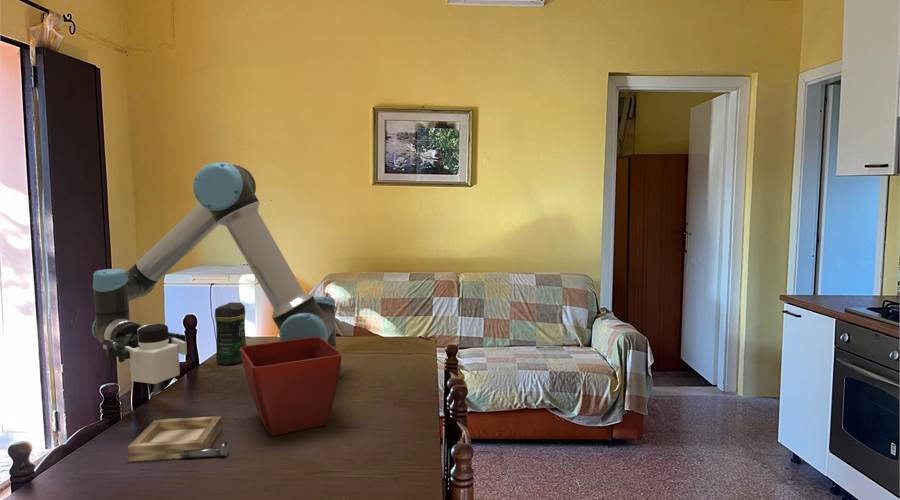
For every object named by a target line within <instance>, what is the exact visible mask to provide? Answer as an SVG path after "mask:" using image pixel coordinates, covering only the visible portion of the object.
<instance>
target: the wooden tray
mask: <svg viewBox="0 0 900 500" xmlns="http://www.w3.org/2000/svg"><path fill="white" fill-rule="evenodd" d="M222 429H223V423H222V416H221V415H218V416H217V415H215V416H201V417H199V416H198V417H197V416H196V417H183V418H182V417H179V418H177V417H176V418H163V419H162V418H161V419H160V418H159V419H154V420H153V421H152V422H151V423H149V425H148V426H147V427H146V428H145V429H144V430H143V431H142V432H141V433H140V434H139V435H138V436H137V437H136V438H135V439H134V440H133V441H132V442H131V443H130V444H129V445H128V446H127V453H128V454H127V456H128V462H143V461H145V460H146V461H158V460H161V459H162V460H174V459H175V460H176V459H183V458H182V457H181V456H180V453H181V452H182V451H183V450H196V449H207V448H211V446H212V445H213V443H214V442H215V440H216V439H217V437H218V436H219V434H220V433H221V431H222ZM173 458H174V459H173Z"/></svg>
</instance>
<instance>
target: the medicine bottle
mask: <svg viewBox="0 0 900 500" xmlns="http://www.w3.org/2000/svg"><path fill="white" fill-rule="evenodd" d="M141 326H142V327H140V328H139V329H138V330H137V331H138V345H139V346H140V347H137V348H133V349H136V350H138V351H139V362H140V364H134V363H132V362H130V361H129V371H130V381H131V382H136V383H145V384H152V385H155V384H156V385H157V384H160V383H161V382H165V381H167V380H169V379H172V378H174V377H178V376H180V375H181V373H180V371H181V370H180V356H179V355H180V353H179V350H178V345H177V344H168V342H169V336H168V332H169V327H168V325H166V324H164V323H151V324H145V325H141Z"/></svg>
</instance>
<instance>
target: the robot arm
mask: <svg viewBox="0 0 900 500" xmlns="http://www.w3.org/2000/svg"><path fill="white" fill-rule="evenodd" d="M192 184H193V185H192V190H193V195H194V197H195V198H196V200H197V202H198V204H197V205H196V206H195V207H193V209H191V210H190V211H189V213H188V214H186V215H185V216H184V217H183V218H182V219H181V220H180V221H179V222H178V223H177V224H176V225H175V226H173V228H171V229H170V230H169V231H168V232H167V233H166V234H165V235H164V236H163V237H162V238H161V239H160V240H159V241H158V242H157V243H156V244H154V245H153V246H152V247H151V248H150V249H149V250H148V251H147V252H146V253H145V254H144V255H142V256H141V258H140V259H139V260H137V262H135V263H134V264H133V265H132V266H131V267H130V268H129V269H128V270H125V269H124V268H104V269H99V270H95V271H94V273H93V276H92V279H93V281H92V282H93V283H92V289H93V302H94V313H95V317H94V318H95V319H94V321H93V323H92V326H91V333H92V335H93V337H94V338H95V339H96V340H97V341H98V342H99V343H101V344H102V350H103V351H102V352H103V353H106V356H107V360H108V361H113V360H115V359H116V358H118V362H119V363H124V362H125V360H126V361H129V363H130V362H132V363H134V364H140V362H139V351H138V350H136V349H133V348H137V347H140V346H139V345H138V331H137V330H138V329H139V328H140V327H142V326H143V325H141V324H140V323H136V322H134V321H132V320H131V319H130V318H131V316H130V302H131V301H133V300H137V299H139V298H142V297H146V296H147V295H148V294H150V293H151V292H152V291H153V290H154V288H155V286H156V284H157V283H158V282H159V281H160V280H161V279H162V278H163V277H164V276H165V275H167V273H169V272H170V271H171V270H172V269H173V268H174V267H175V266H176V265H177V264H178V263H179V262H180V261H181V260H182V259H184V258H185V257H186V256H187V255H188V254H189V253H190V252H191V251H193V249H195V247H196V246H198V245H199V244H200V243H201V242H202V241H203V240H204V239H205V238H206V237H207V236H208V235H209V234H210V233H212V231H214V230H215V229H216V228H217V227H218V226H220V225H221V226H223V227H225V228H227V231H228V233H229V234H230V235H231V237H232V239H233V241H234V243H235V244H236V246H237V248H238V249H239V251H240V253H241V254H242V256H243V259H244V260H245V261H246V263H247V265H248V266H249V268H250V271H251V273H252V274H253V275H254V277H255V279H256V280H257V282H258V284H259V285H260V287H261V289H262V291H263V293H264V294H265V295H266V297H267V299H268V301H269V302H270V304H271V306H272V308H273V311H272V315H271V318H272V320H273V322H274V323H275V325H276V327H277V329H278V330H279V332H278V336H279V342H280V341H287V340H295V339H303V338H311V337H321V338H323V339H324V340H325V341H326V342H328V343H329V344H330V345H331V346H332V347H334V348H335V349H336V350H338V349H337V330H336V303H335V299H334V297H332V296H314V295H313V294H312V293H308V292H305V291H304V290H303V288H302V286H301V285H300V282H299V281H298V279H297V277H296V276H295V274H294V272H293V271H292V269H291V267H290V266H289V263H288V262H287V260H286V258H285V257H284V255H283V253H282V251H281V250H280V248H279V246H278V244H277V243H276V241H275V239H274V237H273V236H272V234H271V232H270V230H269V229H268V227H267V225H266V223H265V222H264V219H263V218H262V216H261V215H260V213H259V207H260V200H259V199H258V197H257V195H256V192H257V191H256V190H257V183H256V180H255V178H254V176H253V175H252V173H251V172H250V171H249V170H248V169H247V168H245V167H243V166H241V165H237V164H231V163H228V162H223V161H219V162H213V163H212V162H211V163H208V164H206V165H204V166H203V167H201V169H199V171H198V172H196V174H195V177H194V180H193V183H192ZM168 336H169V342H168V344H177V345H178V350H179V355H180V354H181V355H182V356H183V355H188V349H187V337H186V334H179V333H175V332H169V331H168ZM343 376H344V367H343V363H342V362H341V366H340V374H339V379H340V378H342V377H343Z"/></svg>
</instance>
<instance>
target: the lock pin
mask: <svg viewBox="0 0 900 500" xmlns="http://www.w3.org/2000/svg"><path fill="white" fill-rule="evenodd" d="M228 454H229V443H228V441H226V442H225V441H224V442H221V443H220V446H219V447H210V448H207V449H196V450H183V451H182V452H181V453H180V456H181V457H182V458H181V459H195V458H210V457H211V458H213V457H227V456H228Z"/></svg>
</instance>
